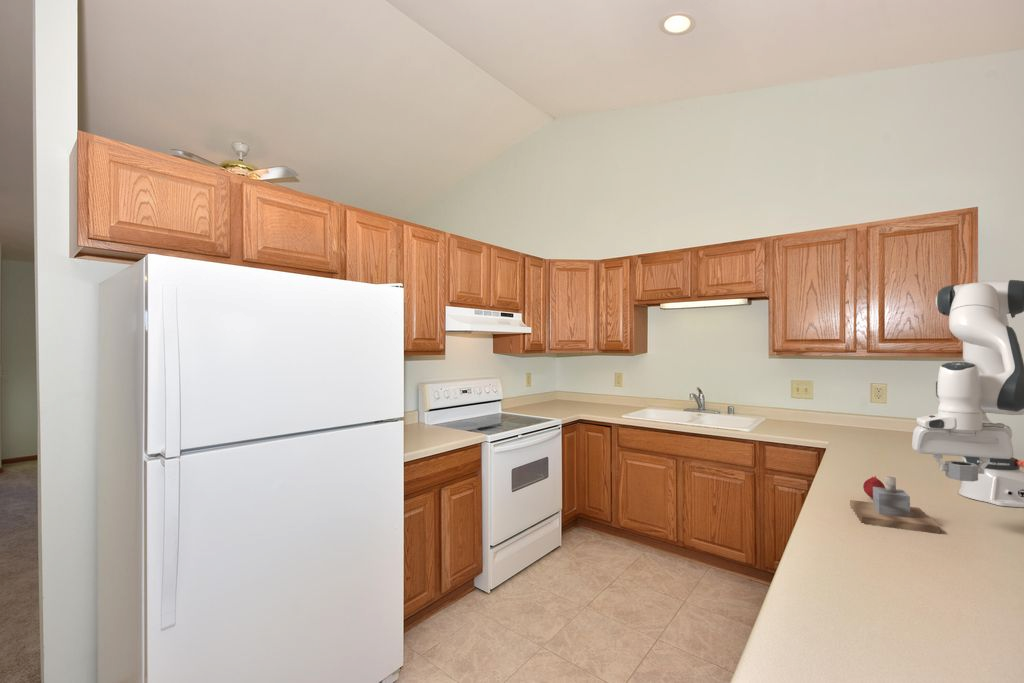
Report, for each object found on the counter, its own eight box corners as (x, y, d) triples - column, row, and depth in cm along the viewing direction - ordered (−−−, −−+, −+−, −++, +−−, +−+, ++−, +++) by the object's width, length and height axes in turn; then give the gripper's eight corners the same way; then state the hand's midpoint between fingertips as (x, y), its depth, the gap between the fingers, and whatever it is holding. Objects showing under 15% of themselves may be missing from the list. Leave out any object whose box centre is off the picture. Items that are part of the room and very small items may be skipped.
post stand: (919, 514, 139) (918, 474, 139) (939, 533, 125) (938, 488, 125) (850, 506, 147) (849, 468, 147) (861, 523, 132) (860, 481, 132)
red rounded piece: (889, 503, 149) (889, 478, 149) (869, 502, 150) (869, 477, 151) (879, 497, 155) (879, 473, 155) (859, 496, 156) (859, 472, 156)
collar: (971, 476, 129) (970, 461, 129) (981, 482, 124) (980, 467, 124) (942, 474, 132) (942, 459, 132) (951, 479, 126) (951, 465, 126)
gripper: (1005, 421, 126) (1007, 472, 126) (909, 418, 135) (910, 465, 135) (1018, 425, 120) (1019, 479, 120) (916, 421, 129) (918, 471, 129)
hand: (961, 471), depth 128 cm, fingers closed on collar, 6 cm apart
